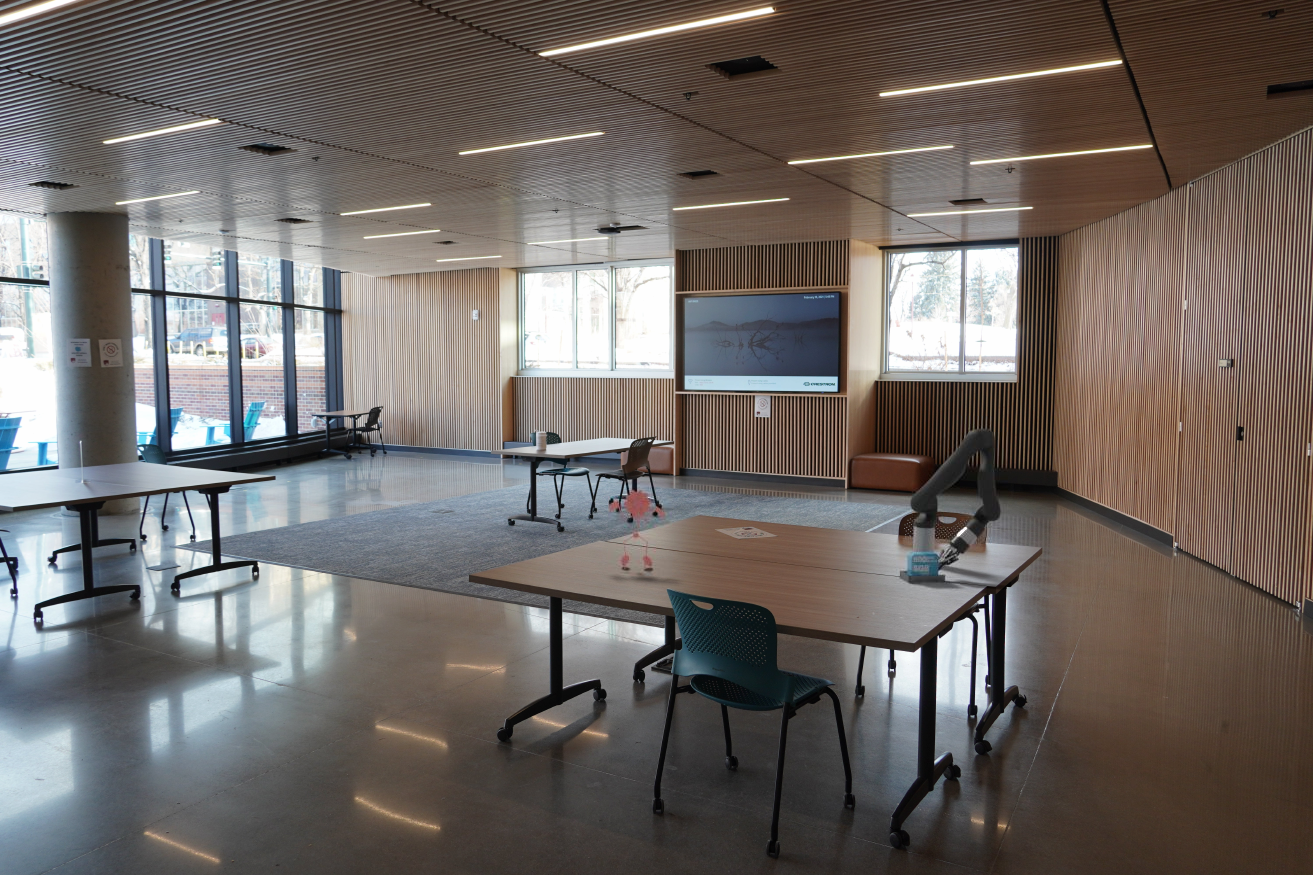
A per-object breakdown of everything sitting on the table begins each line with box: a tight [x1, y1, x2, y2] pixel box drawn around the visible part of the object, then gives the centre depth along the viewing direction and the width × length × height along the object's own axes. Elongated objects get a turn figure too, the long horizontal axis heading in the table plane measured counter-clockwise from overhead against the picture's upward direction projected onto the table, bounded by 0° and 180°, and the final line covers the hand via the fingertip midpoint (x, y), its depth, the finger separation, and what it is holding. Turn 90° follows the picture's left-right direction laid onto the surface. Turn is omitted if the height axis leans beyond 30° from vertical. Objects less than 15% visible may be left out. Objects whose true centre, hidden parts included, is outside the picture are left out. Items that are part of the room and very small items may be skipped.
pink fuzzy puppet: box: [608, 489, 666, 571], centre depth 405 cm, size 15×26×35 cm, turn 80°
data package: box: [906, 551, 939, 576], centre depth 379 cm, size 12×4×12 cm, turn 98°
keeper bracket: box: [899, 570, 946, 584], centre depth 381 cm, size 10×16×3 cm, turn 98°
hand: (935, 569), depth 382 cm, fingers closed
